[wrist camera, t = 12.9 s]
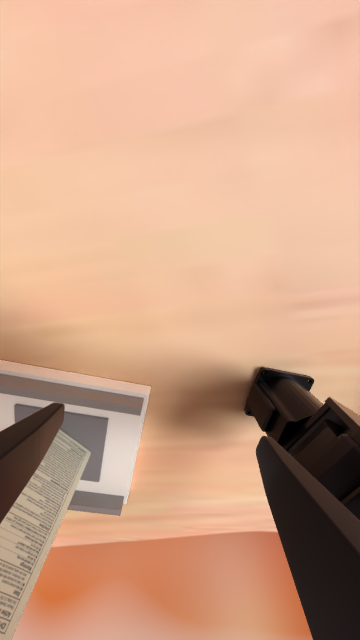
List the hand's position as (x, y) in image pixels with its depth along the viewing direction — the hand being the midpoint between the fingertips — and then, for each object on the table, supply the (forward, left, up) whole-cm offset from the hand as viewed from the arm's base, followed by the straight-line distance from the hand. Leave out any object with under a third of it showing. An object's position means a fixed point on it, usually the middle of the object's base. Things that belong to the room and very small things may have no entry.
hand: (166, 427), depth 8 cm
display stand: (+10, +16, -12) cm, 22 cm away
